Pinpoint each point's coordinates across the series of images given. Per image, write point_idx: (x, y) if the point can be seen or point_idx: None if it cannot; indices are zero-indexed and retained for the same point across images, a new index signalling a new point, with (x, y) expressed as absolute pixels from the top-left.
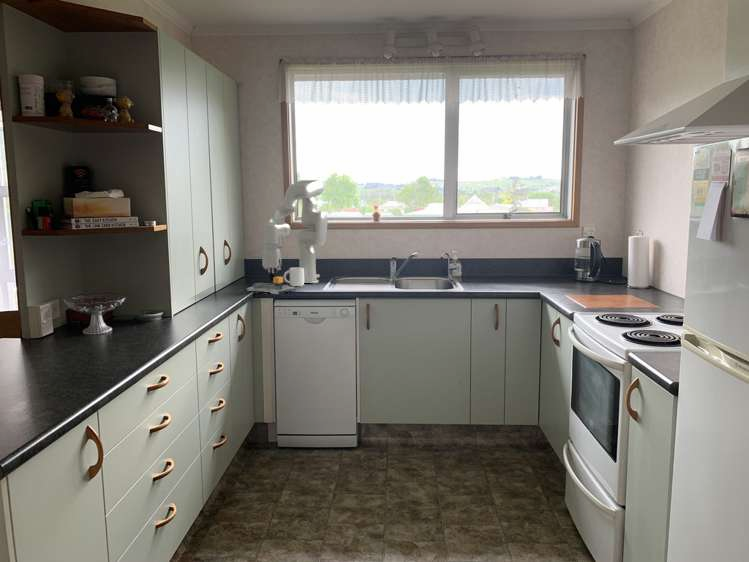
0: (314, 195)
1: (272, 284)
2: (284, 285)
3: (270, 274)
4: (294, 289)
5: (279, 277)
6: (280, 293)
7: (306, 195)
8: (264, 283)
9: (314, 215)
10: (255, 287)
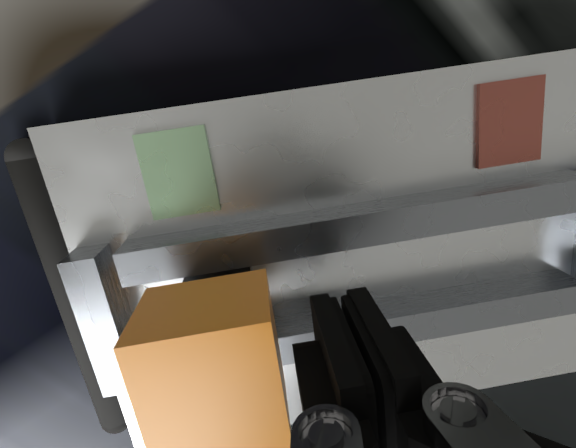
0: None
1: None
2: None
3: (386, 364)
4: (95, 408)
5: (141, 392)
6: (17, 139)
7: None
8: (523, 307)
9: None
10: (528, 119)
